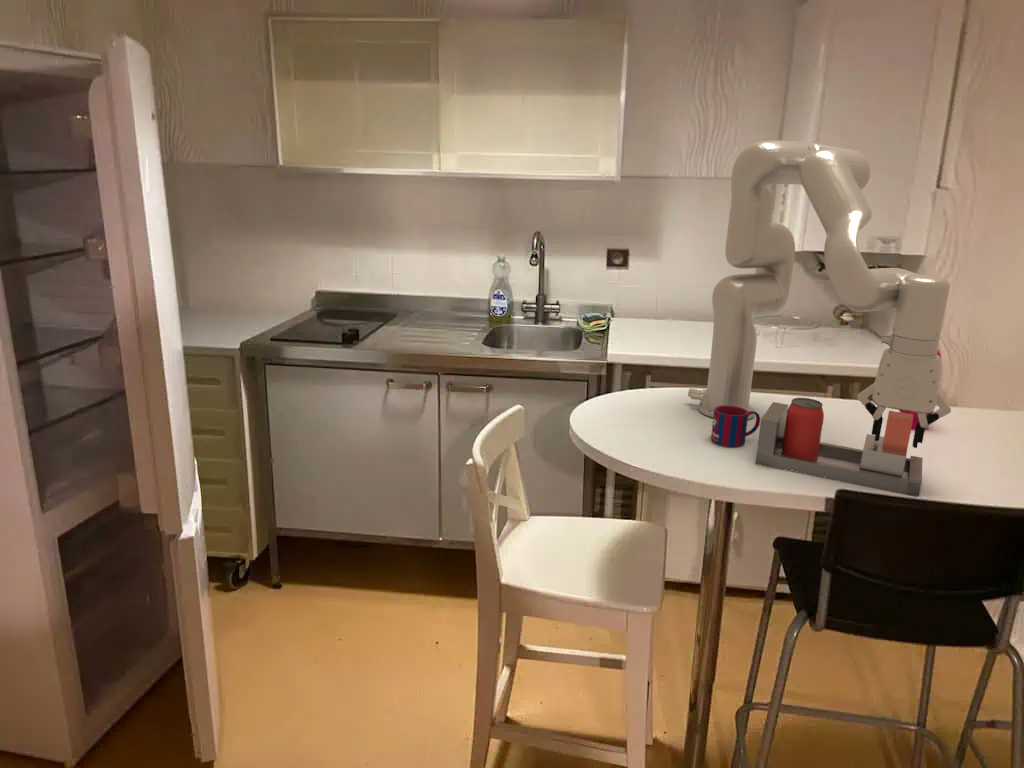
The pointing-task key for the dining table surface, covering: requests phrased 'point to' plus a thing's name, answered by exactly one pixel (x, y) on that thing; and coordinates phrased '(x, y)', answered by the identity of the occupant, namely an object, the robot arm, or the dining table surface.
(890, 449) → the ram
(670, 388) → the dining table surface
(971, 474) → the dining table surface
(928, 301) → the robot arm
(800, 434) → the beer can
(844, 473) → the press frame
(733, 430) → the mug
